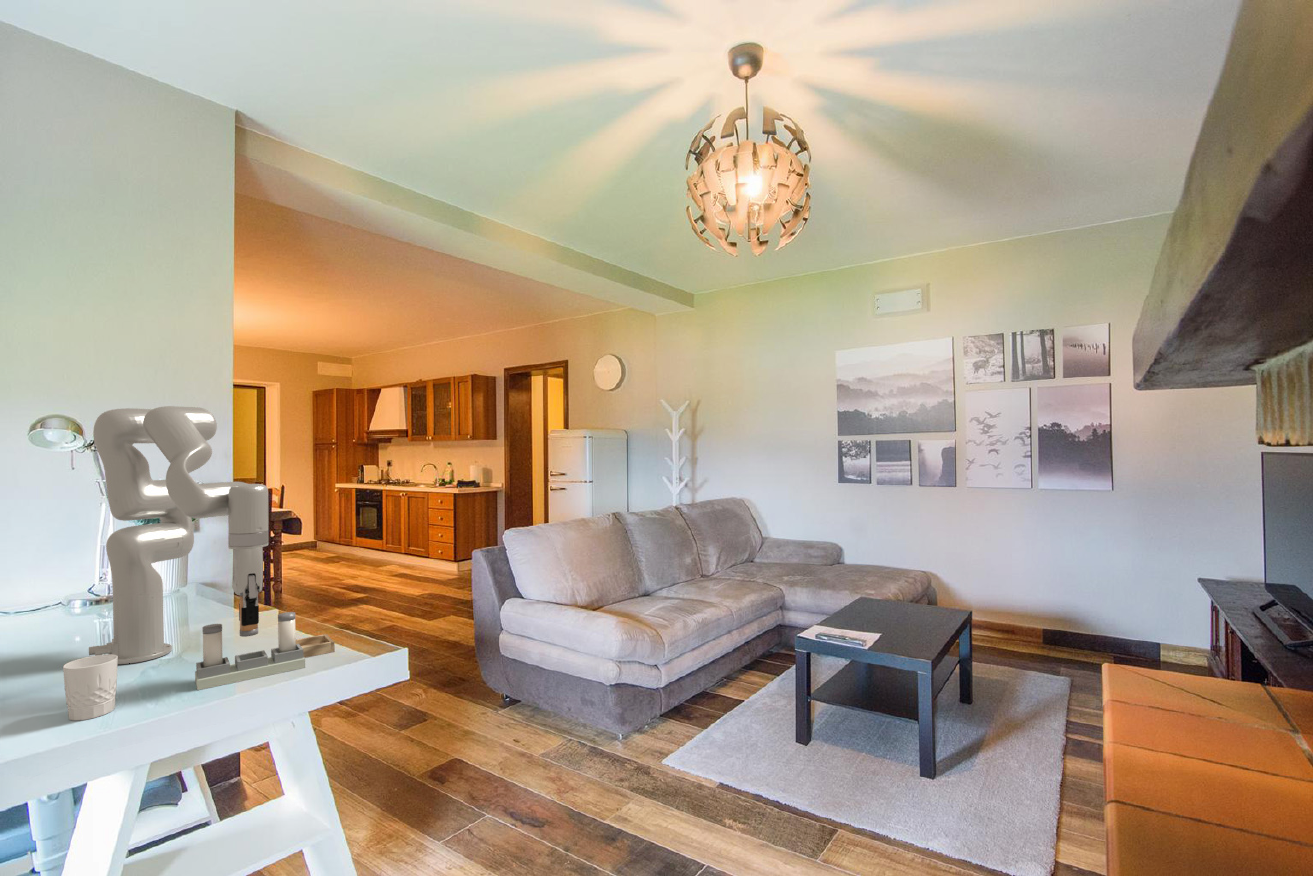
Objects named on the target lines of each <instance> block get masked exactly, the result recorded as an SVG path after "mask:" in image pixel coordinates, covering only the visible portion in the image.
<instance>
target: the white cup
mask: <svg viewBox="0 0 1313 876" xmlns="http://www.w3.org/2000/svg"><path fill="white" fill-rule="evenodd" d="M118 666H119V664H118V656H117V655H111V654H102V655H96V656H95V655H89V656H86V657H85V656H84V657H82V658H78V659H74V660H71V661H69V662H67V663H65V664H64V665H63V667H62V670H63V681H64V684H63V685H64V691H65V699H66V701H65V702H66V704H65V705H66V706H67V715H68V716H67V717H68V720H70V721H86V720H91V719H95V718H96V719H97V718H98V717H99V718H100V717H103V716H105V715H108V714H110V713H111V712H113V711H114V710H115V708H116V694H117V685H118V684H117V683H118Z"/></svg>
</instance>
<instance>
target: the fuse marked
mask: <svg viewBox="0 0 1313 876" xmlns="http://www.w3.org/2000/svg"><path fill="white" fill-rule="evenodd" d="M248 592H249V591H248V590H245V593H248ZM247 597H248V596H246V598H247ZM239 604H240V621H239V636H240V637H245V638H247V637H252V636H253V637H254V636H256V635H258V634H259V623H258V624H254V625H247V626H242V625H241V608H242V607H243V593H240V595H239Z"/></svg>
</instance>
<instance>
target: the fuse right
mask: <svg viewBox="0 0 1313 876" xmlns="http://www.w3.org/2000/svg"><path fill="white" fill-rule="evenodd" d="M277 634H278V637H277V639H278V642H277V643H278V647H279V653H284V652H289V651H294V650H296V640H297V639H296V637H297V636H296V635H297V634H296V612H295V611H288V612H287V611H286V612H281V613H278V614H277Z"/></svg>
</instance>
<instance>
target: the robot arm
mask: <svg viewBox="0 0 1313 876" xmlns="http://www.w3.org/2000/svg"><path fill="white" fill-rule="evenodd" d="M217 424H218V423H217V420H216V417H214V415H213V414H212V413H211V412H210V411H209V410H207V409H206V408H202V407H195V406H175V405H171V406H169V405H168V406H159V407H156V408H152V409H151V408H130V407H128V408H116V409H110V410H106V411H104V412H103V413H100V415H99V416H98V417H96V420H95V423H94V426H93V433H92V434H93V442H94V445H95V447H96V448H95V449H96V450H97V451H96V452H97V453H98V455H99V458H100V459H101V464H102V465H103V469H104V477H105V478H104V479H105V484H106V491H107V499H108V507H109V511H110V514H111V515H112V517H113V518H114V519H116V520H118V521H123V522H125V521H126V522H127V521H139V520H150V519H159V520H160V522H157V523H149V524H148V523H147V524H140V525H139V524H138V525H132V526H126V527H123V528H120V529H117V530H115V531H114V532H113V533H111V534H110V535H109V537H108V538H107V541H106V544H105V548H106V549H105V550H106V555H107V560H108V561H109V562H108V563H109V567H110V571H111V585H112V586H111V587H112V623H113V624H112V627H113V629H112V630H113V635H112V636H113V638H112V639H111V642H107V643H106V644H103V645H94V646H89V647H88V655H89V656H96V655H107V654H111V655H117V656H118V665H129V663H130V664H136V663H141V662H146V661H150V660H153V659H158V658H161V657H163V656H167V654H170V653H171V652H172V649H173V645H172V644H170V643H166V642H165V631H164V628H165V625H164V624H165V623H164V586H163V579H162V576H161V575H160V573H159V572H158V571H157V570H156V569H155V568H154V567H153V565H152V564H154V563H160V562H164V561H170V560H175V559H177V560H178V559H179V558H183V557H185V556H187V555H189V554H190V553H191V551H192V550H193V547H194V543H195V535H194V527H193V525H194V524H193V519H205V518H215V517H226V516H228V519H227V520H228V525H227V526H228V527H227V528H228V531H227V533H228V543H227V545H228V549H230V550H232V551H233V553H232V580H231V581H232V582H231V586H232V587H231V589H232V590H233V592H234V594H236V595H237V596H240V593H243V607H242V608H241V625H242V626H247V625H254V624H258V625H259V621H260V616H259V615H260V612H259V611H260V610H259V609H260V607H259V593H260V592H261V591H262V590H263V580H264V578H263V577H264V552H263V548H264V547H267V546H269V489H268V487H267V485H265V484H261V483H247V482H244V481H225V482H219V481H218V482H209V483H197V482H196V480H194V479H193V477H192V476H191V475H190V474H191V473H192V472H195V471H196V470H198V469H200V468H201V467H203V466H205V465H206V464H207V463H208V462H209V461H210V459H211V457H212V455H213V449H212V447H211V445H210V444H209V442H208V441H209V440H211V439H212V438H213V437H214V436H215V434H216V433H217V429H218V426H217ZM134 444H155V445H156V447H157V448H158V450H160V452H161V453H162V454H163V456H164V457H165V459H166V460H167V461H168V462H169V463H170V464H169V466H168V467H167V471H166V473H165V474H166V475H165V479H155V480H154V479H152V476H151V473H150V472H151V471H150V463H149V462H148V459H147V458H146V457H145V456H144V454H143V453H142V452H141V450H139V449H138V448H136V447H135V446H134ZM245 590H248V591H249V592H248V593H245ZM246 596H248V597H247V598H246ZM238 620H239V622H240V603H238Z"/></svg>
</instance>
